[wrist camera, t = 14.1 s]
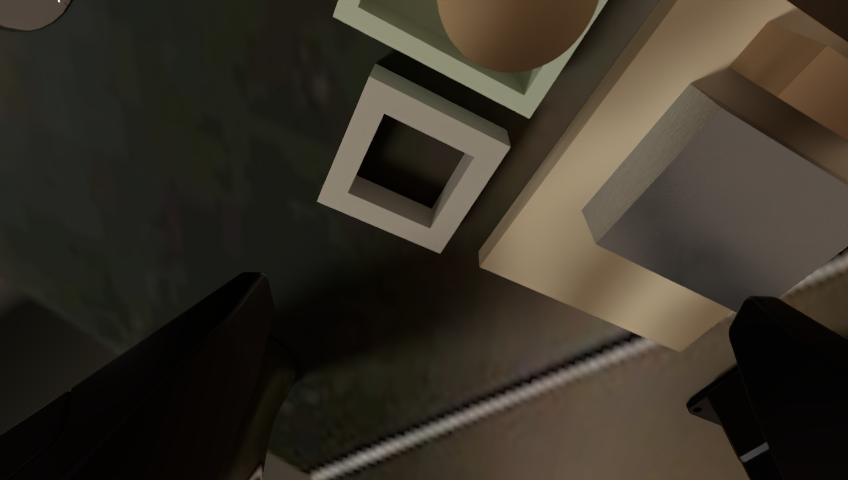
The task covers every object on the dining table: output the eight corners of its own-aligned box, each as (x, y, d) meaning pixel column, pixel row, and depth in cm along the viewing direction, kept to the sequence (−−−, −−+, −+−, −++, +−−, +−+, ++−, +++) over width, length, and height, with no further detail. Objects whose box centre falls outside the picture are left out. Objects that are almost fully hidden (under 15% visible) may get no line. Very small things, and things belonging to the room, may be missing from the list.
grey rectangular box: (846, 179, 18) (892, 212, 16) (723, 281, 22) (749, 318, 20) (689, 83, 17) (721, 108, 15) (581, 210, 20) (595, 244, 18)
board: (940, 112, 18) (1054, 163, 14) (671, 334, 26) (704, 402, 22) (697, -53, 15) (768, -38, 12) (478, 251, 23) (482, 312, 19)
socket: (506, 130, 19) (510, 147, 18) (440, 233, 22) (440, 253, 21) (375, 63, 18) (369, 76, 17) (325, 182, 21) (316, 201, 20)
